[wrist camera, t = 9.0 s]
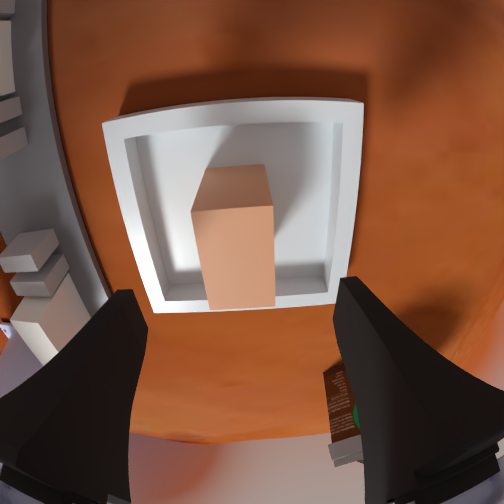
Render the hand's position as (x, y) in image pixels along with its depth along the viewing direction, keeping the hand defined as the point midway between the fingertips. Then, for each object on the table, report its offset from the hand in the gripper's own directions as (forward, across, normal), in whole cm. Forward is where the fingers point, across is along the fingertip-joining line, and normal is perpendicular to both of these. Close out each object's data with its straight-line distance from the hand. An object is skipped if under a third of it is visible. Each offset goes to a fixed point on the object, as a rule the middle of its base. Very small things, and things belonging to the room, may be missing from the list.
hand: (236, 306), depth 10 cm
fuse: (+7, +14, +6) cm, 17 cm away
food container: (+8, -12, +19) cm, 24 cm away
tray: (+8, 0, 0) cm, 8 cm away
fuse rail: (+8, +14, -3) cm, 16 cm away
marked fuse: (+7, 0, 0) cm, 7 cm away
